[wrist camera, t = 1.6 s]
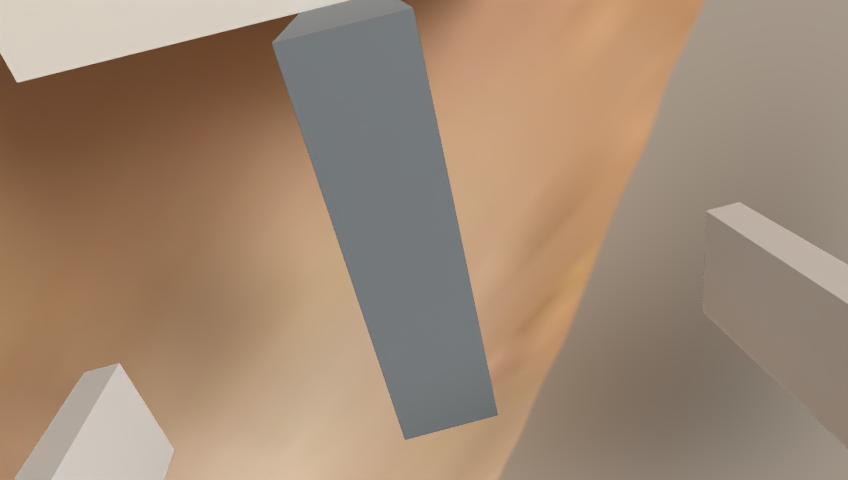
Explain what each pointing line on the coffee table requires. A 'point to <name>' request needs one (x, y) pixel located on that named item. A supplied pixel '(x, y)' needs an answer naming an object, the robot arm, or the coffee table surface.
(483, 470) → the coffee table surface
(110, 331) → the coffee table surface
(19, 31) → the flap
